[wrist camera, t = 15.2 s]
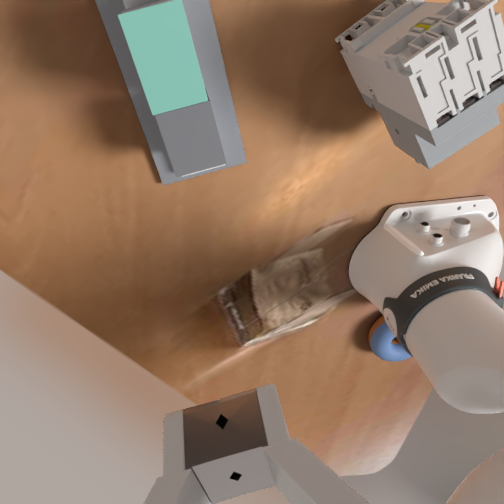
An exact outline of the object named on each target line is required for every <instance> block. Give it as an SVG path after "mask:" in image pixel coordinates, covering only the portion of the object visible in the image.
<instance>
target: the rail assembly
mask: <svg viewBox="0 0 504 504" xmlns="http://www.w3.org/2000/svg"><path fill="white" fill-rule="evenodd" d="M153 1H157V0H95V2H96V5H97V7H98V10H99V13H100V15H101V18H102V21H103V24H104V26H105V29H106V32H107V34H108V37H109V40H110V42H111V45H112V48H113V51H114V53H115V56H116V59H117V61H118V64H119V67H120V70H121V72H122V75H123V78H124V80H125V83H126V86H127V89H128V91H129V94H130V97H131V99H132V102H133V105H134V107H135V110H136V113H137V116H138V118H139V121H140V124H141V126H142V129H143V132H144V135H145V137H146V140H147V143H148V145H149V148H150V151H151V153H152V156H153V159H154V162H155V164H156V167H157V170H158V172H159V175H160V178H161V181H162V183H163V185H167V184H171V183H174V182H178V181H181V180H185V179H189V178H192V177H196V176H200V175H203V174H207V173H211V172H214V171H218V170H222V169H225V168H229V167H233V166H236V165H240V164H244V163H247V161H246V156H245V152H244V148H243V143H242V139H241V135H240V131H239V126H238V122H237V118H236V113H235V109H234V105H233V101H232V96H231V92H230V88H229V83H228V79H227V75H226V71H225V66H224V62H223V58H222V53H221V49H220V45H219V41H218V36H217V32H216V28H215V23H214V19H213V15H212V11H211V6H210V2H209V0H182V4H183V7H184V11H185V15H186V19H187V22H188V26H189V30H190V34H191V37H192V41H193V45H194V49H195V52H196V56H197V60H198V64H199V67H200V71H201V75H202V79H203V83H204V86H205V90H206V94H207V98H208V101H205V102H202V103H198V104H194V105H190V106H187V107H183V108H179V109H176V110H172V111H168V112H164V113H161V114H157V115H152V112H151V109H150V107H149V104H148V101H147V98H146V95H145V92H144V89H143V86H142V84H141V81H140V78H139V75H138V72H137V69H136V66H135V64H134V61H133V58H132V55H131V52H130V49H129V46H128V43H127V41H126V38H125V35H124V32H123V29H122V26H121V23H120V20H119V18H118V14H120V13H121V12H123V11H125V10H126V9H128V8H130V7H134V6H138V5H142V4H146V3H149V2H153Z"/></svg>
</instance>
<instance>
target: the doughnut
mask: <svg viewBox="0 0 504 504" xmlns="http://www.w3.org/2000/svg"><path fill="white" fill-rule="evenodd" d="M369 344H370V346H371V349H372V351H373V352H374V354H375V355H376V356H378V357H379V358H381V359H382V360H386V361H401V360H405V359H408V358H410V357H412V356H411V355H409V354H408V353H407V352H406V351H405V349H404V348H403V347H402V345H401V344H400V343H399V341H398V340H397V338H395V336H394V335H393V334H392V332H391V330H390V329H389V327H388V325H387V323H386V321H385V319H384V316H383V315H382V316H381V317H380V318H379V319H377V320H376V322H375V323H374V324H373V326H372V327H371V329H370V332H369Z"/></svg>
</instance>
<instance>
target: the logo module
mask: <svg viewBox="0 0 504 504" xmlns="http://www.w3.org/2000/svg"><path fill="white" fill-rule="evenodd" d="M118 18H119V20H120V23H121V26H122V29H123V32H124V35H125V38H126V41H127V43H128V46H129V49H130V52H131V55H132V58H133V61H134V64H135V66H136V69H137V72H138V75H139V78H140V81H141V84H142V86H143V89H144V92H145V95H146V98H147V101H148V104H149V107H150V109H151V112H152V115H157V114H161V113H164V112H168V111H172V110H176V109H179V108H183V107H187V106H190V105H194V104H198V103H202V102H205V101H208V98H207V94H206V90H205V86H204V83H203V79H202V75H201V71H200V67H199V64H198V60H197V56H196V52H195V49H194V45H193V41H192V37H191V34H190V30H189V26H188V22H187V19H186V15H185V11H184V7H183V4H182V0H157V1H153V2H149V3H146V4H142V5H138V6H134V7H130V8H128V9H126V10H125V11H123V12H121V13H120V14H118Z"/></svg>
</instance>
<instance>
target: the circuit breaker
mask: <svg viewBox="0 0 504 504" xmlns="http://www.w3.org/2000/svg"><path fill="white" fill-rule="evenodd" d="M468 2H469V3H470V7H471V9H469V5H468ZM497 2H498V1H497V0H489V1H485V0H451V1H450V2H449V3H447V4H446V3H432V2H424V0H386V1H384V2H383V3H382V4H380V5H379V6H378V7H376V8H375V9H374V10H372V11H371V12H370V13H368V14H367V15H366V16H364V17H363V18H362V19H360V20H359V21H358V22H356V23H355V24H354V25H352V26H351V27H350V28H348V29H347V30H346V31H344V32H343V33H342V34H340V35H339V36H338V37H336V38H335V41H336V43H338V42H339V41H340V43H341V45H342V47H343V49H341V50H340V52H341V54H342V56H343V58H344V60H345V62H346V64H347V66H348V68H349V71H350V73H351V75H352V77H353V79H354V81H355V83H356V85H357V87H358V89H359V91H360V93H361V95H362V98H363V100H364V102H365V104H366V105H368V106H369V107H371V108H374V107H375V110H376V111H378V112H379V113H380V115H381V117H382V119H383V121H384V123H385V125H386V127H387V129H388V132H389V134H390V136H391V138H392V140H393V142H394V144H395V146H397V147H398V148H400V149H401V150H403V151H404V152H405V153H407V154H408V155H410V156H411V157H412V158H414V159H415V161H416V162H417V163H419V164H422V165H424V166H425V167H427V168H428V169H431V168H432V167H434V166H435V165H437V164H438V163H440V162H441V161H443V160H445V159H446V158H448V157H449V156H451V155H452V154H454V153H455V152H457V151H458V150H460V149H461V148H463V147H465V146H466V145H468V144H469V143H471V142H472V141H474V140H475V139H477V138H478V137H480V136H481V135H483V134H484V133H486V132H488V131H489V130H491V129H492V128H494V127H495V126H497V125H498V124H500V119H499V115H498V112H497V108H496V107H497V106H498V105H500V104H501V103H503V102H504V26H503V22H502V18H501V14H500V13H497V12H494V9H493V5H494V4H495V3H497ZM384 7H385V9H384V10H382V11H381V9H382V8H384ZM366 21H367V22H366ZM359 25H361V27H359V28H358V29H357V30H355V28H357V27H358V26H359ZM347 35H350V36H351V38H352V40H351V41H349V40H346V39H345V37H346V36H347Z"/></svg>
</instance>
